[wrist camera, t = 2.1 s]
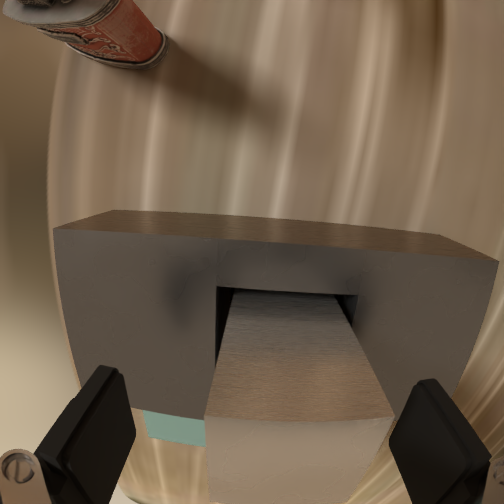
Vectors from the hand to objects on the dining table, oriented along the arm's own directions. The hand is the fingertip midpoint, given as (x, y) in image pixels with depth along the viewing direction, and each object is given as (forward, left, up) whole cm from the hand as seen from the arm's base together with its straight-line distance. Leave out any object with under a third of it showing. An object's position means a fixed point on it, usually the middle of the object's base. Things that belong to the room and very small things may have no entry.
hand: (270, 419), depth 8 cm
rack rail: (-1, 0, -10) cm, 10 cm away
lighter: (+10, -16, -10) cm, 21 cm away
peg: (-1, 0, -10) cm, 10 cm away
